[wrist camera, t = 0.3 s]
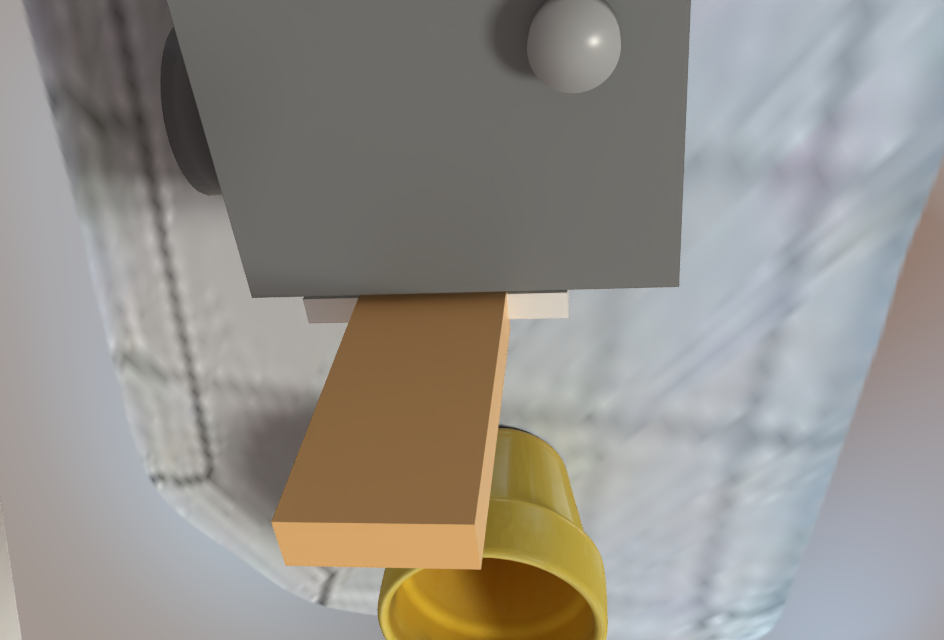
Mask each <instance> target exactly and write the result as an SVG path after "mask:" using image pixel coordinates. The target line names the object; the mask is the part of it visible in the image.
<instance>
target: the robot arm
mask: <svg viewBox="0 0 944 640" xmlns="http://www.w3.org/2000/svg"><path fill="white" fill-rule="evenodd" d="M0 640H22V638H21V632H20V625H19V619H18V612H17V605H16V598H15V591H14V585H13V578H12V572H11V565H10V558H9V551H8V545H7V538H6V532H5V525H4V518H3V511H2V504H1V498H0Z"/></svg>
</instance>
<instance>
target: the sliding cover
mask: <svg viewBox="0 0 944 640" xmlns="http://www.w3.org/2000/svg"><path fill="white" fill-rule="evenodd" d="M303 301H304V305H305V309H306V313H307V317H308V321H309V323H344V322H349V323H348V326H347V328H346V331H345V333H344V336H343V339H342V341H341V344H340V346H339V349H338V351H337V354H336V357H335V359H334V362H333V364H332V367H331V370H330V372H329V375H328V377H327V380H326V382H325V385H324V388H323V390H322V393H321V395H320V398H319V401H318V403H317V406H316V408H315V411H314V413H313V416H312V419H311V421H310V424H309V426H308V429H307V431H306V434H305V437H304V439H303V442H302V444H301V447H300V450H299V452H298V455H297V457H296V460H295V462H294V465H293V468H292V470H291V473H290V475H289V478H288V481H287V483H286V486H285V488H284V491H283V493H282V496H281V499H280V501H279V504H278V506H277V509H276V512H275V514H274V517H273V519H272V525H273V528H274V531H275V534H276V537H277V541H278V544H279V547H280V550H281V553H282V556H283V559H284V562H285V565H286V566H329V567H378V568H427V569H475V570H481V565H482V557H483V549H484V540H485V532H486V524H487V516H488V507H489V499H490V491H491V483H492V475H493V466H494V458H495V450H496V442H497V433H498V425H499V417H500V409H501V400H502V392H503V384H504V376H505V368H506V359H507V351H508V343H509V335H510V322H509V319H534V318H568V317H569V290H535V291H496V292H457V293H419V294H380V295H341V296H304V298H303Z"/></svg>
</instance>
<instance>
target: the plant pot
mask: <svg viewBox="0 0 944 640" xmlns="http://www.w3.org/2000/svg"><path fill="white" fill-rule="evenodd" d="M378 620H379V625H380V628H381V631H382V633H383V636H384V637H385V639H386V640H606V637H607V626H608V618H607V593H606V581H605V571H604V566H603V561H602V558H601V555H600V553H599V551H598V549H597V548H596V546H595V544H594V543H593V541H592V540H591V539H590V538H589V537H588V535H587V534H586V533H585V532H584V530H583V527H582V524H581V520H580V517H579V514H578V510H577V507H576V503H575V500H574V496H573V493H572V489H571V486H570V482H569V478H568V474H567V471H566V468H565V465H564V463H563V461H562V459H561V457H560V456H559V454H558V453H557V452H556V451H555V450H554V449H553V448H552V447H551V446H550V445H549V444H548V443H546V442H545V441H543V440H542V439H540V438H538V437H536V436H534V435H532V434H529V433H527V432H523V431H520V430H516V429H509V428H498V433H497V442H496V450H495V458H494V466H493V475H492V483H491V491H490V499H489V507H488V516H487V524H486V532H485V540H484V549H483V557H482V565H481V570H475V569H427V568H385V571H384V576H383V580H382V585H381V590H380V595H379V601H378Z"/></svg>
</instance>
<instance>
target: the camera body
mask: <svg viewBox="0 0 944 640" xmlns="http://www.w3.org/2000/svg"><path fill="white" fill-rule="evenodd" d="M167 3H168V7H169V10H170V14H171V17H172V21H173V24H174V27H173V28H172V30H171V31H170V33H169V36H168V38H167V41H166V44H165V47H164V52H163V57H162V65H161V101H162V110H163V116H164V122H165V126H166V131H167V135H168V138H169V142H170V145H171V148H172V151H173V154H174V156H175V158H176V161H177V163H178V165H179V167H180V169H181V171H182V173H183V174H184V176H185V177H186V179H187V180H188V181H189V183H190V184H191V185H192V186H193V187H194V188H195V189H196V190H198V191H199V192H201V193H203V194H205V195H223V198H224V202H225V205H226V208H227V212H228V215H229V219H230V222H231V226H232V229H233V233H234V236H235V240H236V243H237V247H238V250H239V254H240V257H241V261H242V264H243V268H244V271H245V274H246V278H247V281H248V285H249V288H250V292H251V295H252V298H263V297H302V296H341V295H380V294H419V293H457V292H496V291H535V290H574V289H613V288H652V287H679V273H680V249H681V225H682V201H683V177H684V153H685V129H686V105H687V81H688V57H689V32H690V8H691V0H167Z"/></svg>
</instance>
